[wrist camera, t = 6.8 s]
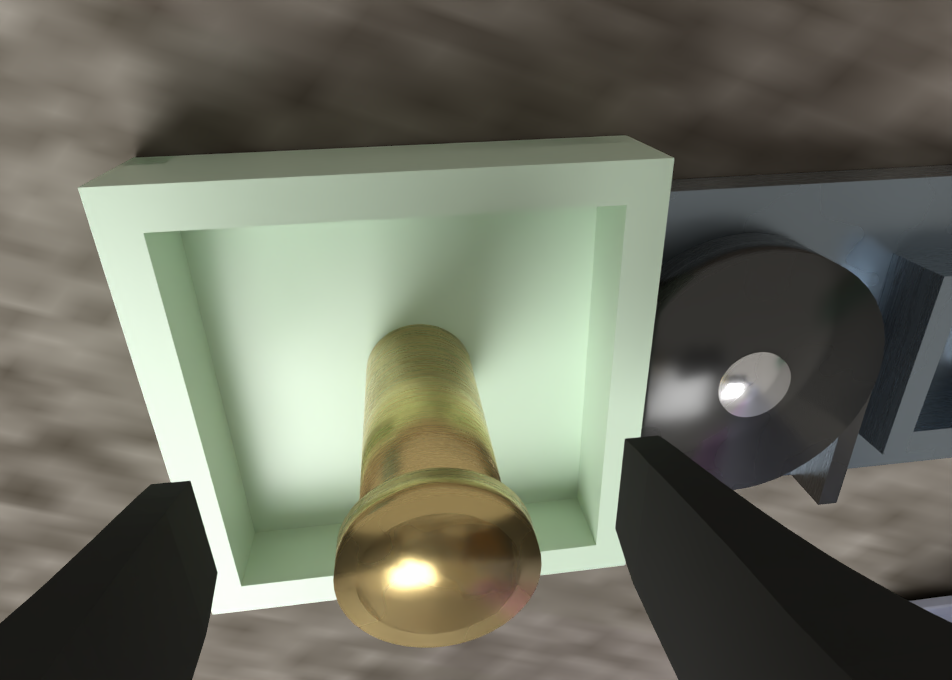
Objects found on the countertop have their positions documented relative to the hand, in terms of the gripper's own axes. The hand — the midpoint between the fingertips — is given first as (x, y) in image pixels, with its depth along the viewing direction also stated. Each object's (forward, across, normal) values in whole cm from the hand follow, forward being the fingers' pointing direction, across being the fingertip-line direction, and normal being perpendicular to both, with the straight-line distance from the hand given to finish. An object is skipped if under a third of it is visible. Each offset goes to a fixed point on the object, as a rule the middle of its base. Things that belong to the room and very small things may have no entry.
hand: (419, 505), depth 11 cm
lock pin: (+4, 0, 0) cm, 4 cm away
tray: (+5, 0, 0) cm, 5 cm away
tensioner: (+5, -10, 0) cm, 12 cm away
